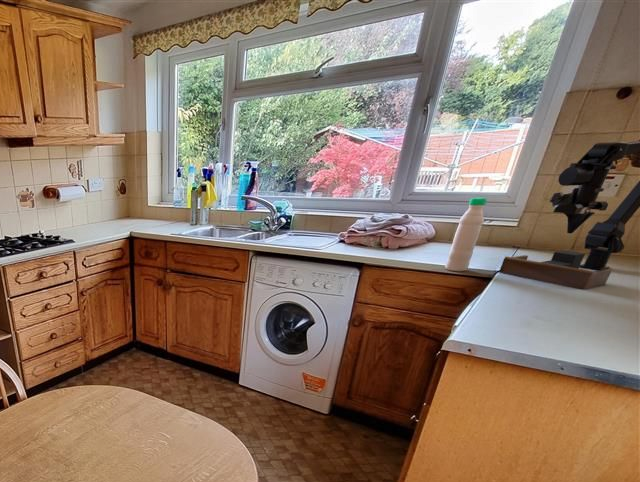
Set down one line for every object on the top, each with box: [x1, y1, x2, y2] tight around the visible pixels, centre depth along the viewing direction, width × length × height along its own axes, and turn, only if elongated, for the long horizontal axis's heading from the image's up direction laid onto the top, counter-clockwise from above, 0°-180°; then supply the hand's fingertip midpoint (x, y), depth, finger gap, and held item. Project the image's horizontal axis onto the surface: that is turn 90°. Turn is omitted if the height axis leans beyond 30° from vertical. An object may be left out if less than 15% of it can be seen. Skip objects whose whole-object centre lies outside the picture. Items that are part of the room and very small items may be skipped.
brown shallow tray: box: [498, 254, 613, 290], centre depth 148 cm, size 12×25×6 cm, turn 21°
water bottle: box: [444, 197, 488, 272], centre depth 157 cm, size 7×7×25 cm
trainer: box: [541, 250, 586, 269], centre depth 148 cm, size 13×6×8 cm, turn 111°
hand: (569, 233), depth 152 cm, fingers closed
